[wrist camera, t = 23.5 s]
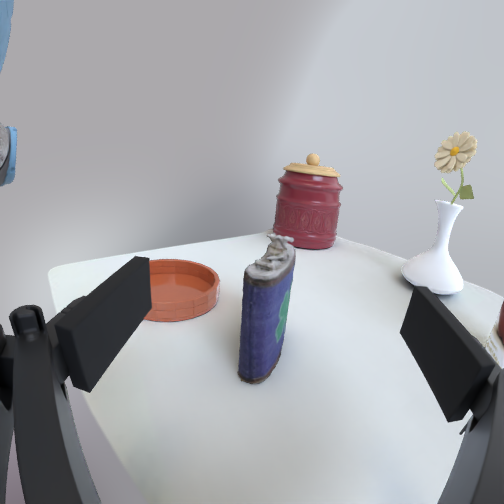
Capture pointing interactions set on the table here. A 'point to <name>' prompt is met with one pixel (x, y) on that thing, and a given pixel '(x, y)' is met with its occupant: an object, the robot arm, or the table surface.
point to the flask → (265, 309)
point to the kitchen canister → (308, 204)
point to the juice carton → (497, 340)
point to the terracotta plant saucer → (181, 290)
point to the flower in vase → (444, 223)
